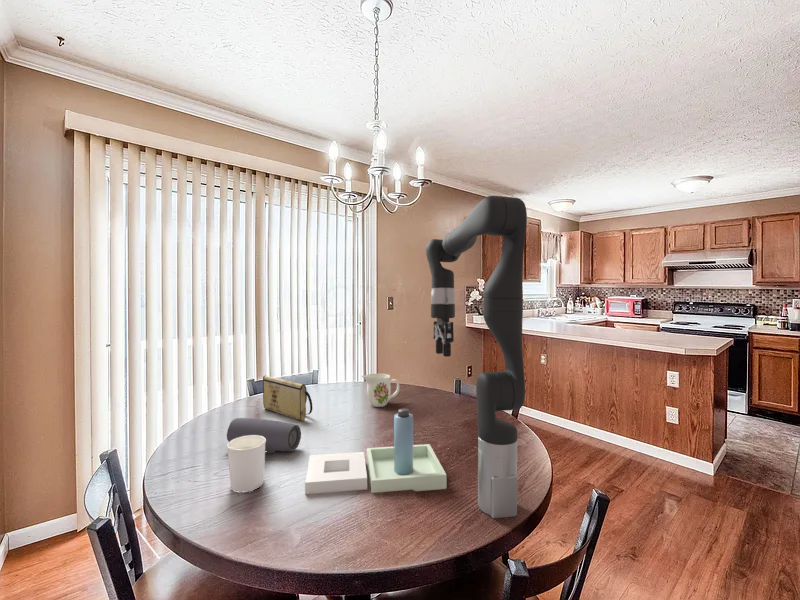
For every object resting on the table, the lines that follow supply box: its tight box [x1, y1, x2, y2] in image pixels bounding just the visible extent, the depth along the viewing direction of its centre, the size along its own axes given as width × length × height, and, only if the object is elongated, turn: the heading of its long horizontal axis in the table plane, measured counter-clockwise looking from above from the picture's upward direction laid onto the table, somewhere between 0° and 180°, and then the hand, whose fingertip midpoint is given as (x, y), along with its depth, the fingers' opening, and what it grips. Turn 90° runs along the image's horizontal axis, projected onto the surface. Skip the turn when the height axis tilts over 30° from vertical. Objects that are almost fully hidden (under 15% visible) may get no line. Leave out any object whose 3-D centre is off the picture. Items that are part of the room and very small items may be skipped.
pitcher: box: [361, 373, 400, 408], centre depth 175 cm, size 11×18×14 cm, turn 111°
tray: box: [366, 443, 447, 494], centre depth 111 cm, size 20×20×4 cm
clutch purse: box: [262, 374, 313, 422], centre depth 163 cm, size 30×7×15 cm, turn 53°
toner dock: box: [304, 451, 368, 495], centre depth 108 cm, size 16×16×4 cm
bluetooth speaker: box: [226, 417, 302, 453], centre depth 127 cm, size 23×9×10 cm, turn 74°
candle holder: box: [226, 435, 266, 492], centre depth 104 cm, size 10×10×12 cm
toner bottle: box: [393, 408, 414, 475], centre depth 111 cm, size 6×6×18 cm
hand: (443, 354), depth 120 cm, fingers open, 8 cm apart
